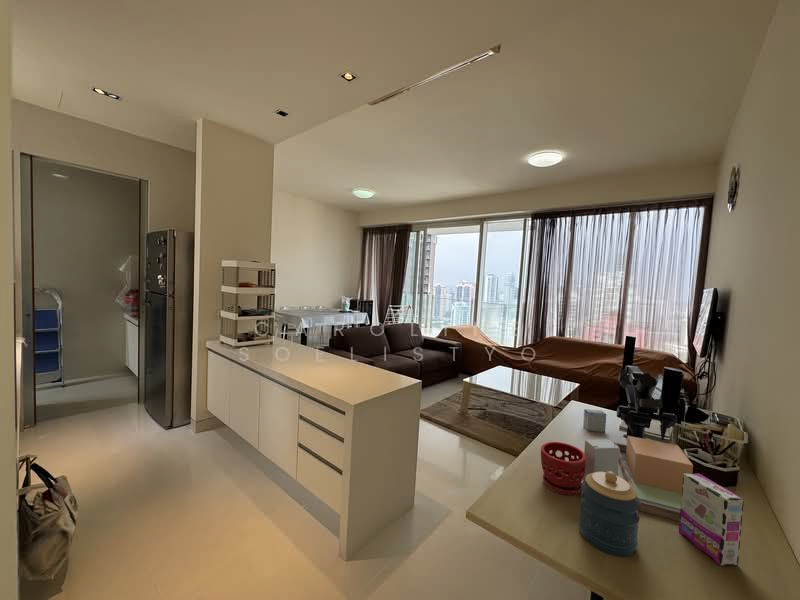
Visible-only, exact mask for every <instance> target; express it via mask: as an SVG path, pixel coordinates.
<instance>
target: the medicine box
mask: <svg viewBox="0 0 800 600" xmlns="http://www.w3.org/2000/svg"><path fill="white" fill-rule="evenodd" d="M583 410H584V412H583V424H582V426H583V428H584V430H586V431H588V432H589V431H590V432H602V433H606V426H607V425H606V423H607V413H606V412H605V411H603V410H601V409H590V408H589V409H586V408H585V409H583Z"/></svg>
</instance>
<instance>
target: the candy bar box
mask: <svg viewBox="0 0 800 600" xmlns="http://www.w3.org/2000/svg"><path fill="white" fill-rule="evenodd" d="M744 502H745V499H744V498H743V497H740V495H738V494H735V493H734V492H732V491H730V490H728V489H727V488H725V487H723V486H721V485H720V484H718V483H716V482H715V481H713V480H712V479H709V478H708V477H706V476H704V475H703V474H700V473H697V472H696V473H692V474H683V484H682V496H681V509H680V521H678V522H679V525H678V533H679V534H680V535H682V536H683V537H684V538H686V539H687V540H688V541H689V542H690V543H691V544H693V545H694V546H696V548H698V549H699V550H700V551H702V552H703V553H704V554H706V555H707V556H708V557H709V558H710V559H712V560H713V561H714V562H716V563H717V564H718V565H719V566H722V567H723V566H727V567H728V566H729V567H730V566H735V567H736V566H738V565H739V560H740V549H741V548H740V547H741V536H742V535H741V534H742V525H743V524H742V523H743V513H744Z"/></svg>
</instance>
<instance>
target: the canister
mask: <svg viewBox="0 0 800 600" xmlns="http://www.w3.org/2000/svg"><path fill="white" fill-rule="evenodd" d="M581 483H582V484H581V489H582V490H581V492H582V494H581V495H580V513H579V514H580V515H579V517H578V526H579V532H580V534H581V535H582V537H583V538H584V539H585V541H586V542H588V543H589V544H590V545H591V546H593V547H594V548H595V549H597V550H599V551H601V552H603V553H606V554H607V555H611V556H615V557H620V558H624V557H625V558H627V557H631V556H633V555H634V554H635V553H636V552H637V549H638V546H639V544H638V543H639V538H638V532H639V522H640V521H641V520H640V519H641V517H640V513H639V512H638V511H639V509H640V507H641V503H640V501H639V499H638V498H637V491H636V490H635V488H634V487H633V486H632V485H630V484H629V483H628V482H627V481H626V480H625V479H624V477H623V478H622V477H621V476H619V475H618V476H617V475H616V474H615V473H614V472H611V471H608V472H595V473H590V474H588V475H587V476H586V478H585V481H584V482H583V481H582V482H581Z"/></svg>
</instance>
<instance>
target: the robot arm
mask: <svg viewBox="0 0 800 600" xmlns="http://www.w3.org/2000/svg"><path fill="white" fill-rule="evenodd" d="M617 378H618V382H619V384H620V387H622V388H623V389H625V393H626V397H627V402H628V406H624V405H618V407H617V409H616V417H617V418H619V419H620V420H621V421H623V422H624V423H625V425H626V426H627V428H626V434H623V435H622V436H623V437H624V438H627V436H632V437H637V438H642V439H646V437H645V431H646V430H645V429H650V428H651V423H652V420H654V421H659V423H660V425H659V428H660V438H661V441H664V440H665V437H666V432H667V429H670V428H673V427H675V425H676V424H677V422H678V416H676V415H675V414H674V413H670V412H669V413H668V412H663V413H661V415H660V414H655V413H657V410H658V409H662V408H663V400H662V399H660V398H659V399H658V398H656V399H653V398H652V394H653V393H654V391H655V389H656V386H657V384H658V381H657V379H656V378H655V377H654V376H652V375H651V373H649V372H643V371H641V369H640V366H635V365H625V367H624V368H623V369H621V370H619V372H618V376H617Z"/></svg>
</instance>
